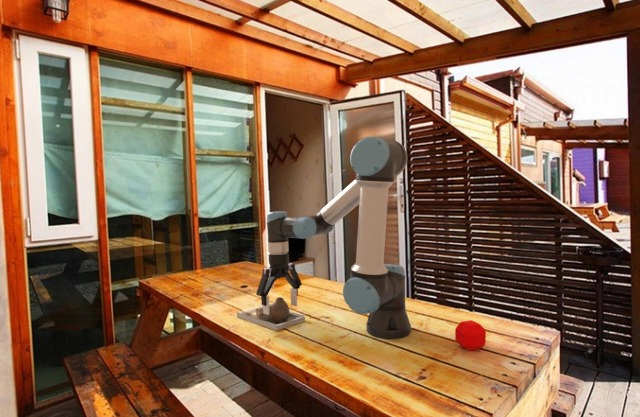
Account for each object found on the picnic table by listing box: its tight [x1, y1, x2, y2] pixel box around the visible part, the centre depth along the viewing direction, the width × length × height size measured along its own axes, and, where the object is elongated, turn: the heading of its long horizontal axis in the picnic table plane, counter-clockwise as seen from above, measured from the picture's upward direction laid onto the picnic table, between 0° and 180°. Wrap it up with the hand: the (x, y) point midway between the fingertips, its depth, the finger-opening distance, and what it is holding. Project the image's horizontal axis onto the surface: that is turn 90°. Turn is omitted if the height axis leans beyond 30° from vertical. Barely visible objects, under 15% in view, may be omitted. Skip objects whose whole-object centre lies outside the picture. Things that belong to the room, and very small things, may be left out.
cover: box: [241, 302, 274, 319], centre depth 155 cm, size 11×13×4 cm
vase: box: [271, 297, 290, 323], centre depth 147 cm, size 7×7×9 cm
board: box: [236, 311, 306, 332], centre depth 152 cm, size 24×14×2 cm, turn 46°
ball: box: [454, 320, 487, 351], centre depth 120 cm, size 8×8×8 cm
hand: (280, 309), depth 147 cm, fingers open, 13 cm apart
